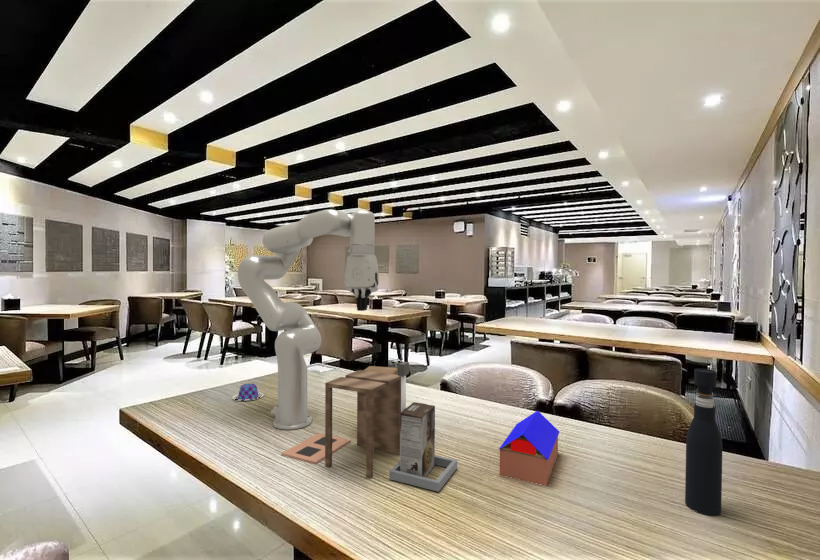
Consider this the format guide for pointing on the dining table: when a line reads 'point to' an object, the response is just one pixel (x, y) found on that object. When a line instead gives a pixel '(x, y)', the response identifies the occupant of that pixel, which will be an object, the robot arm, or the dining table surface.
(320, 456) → the board
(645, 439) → the dining table surface
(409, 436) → the coffee box
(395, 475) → the cradle
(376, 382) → the brown wooden stand
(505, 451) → the house
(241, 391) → the purple checkered hat
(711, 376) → the wine bottle
